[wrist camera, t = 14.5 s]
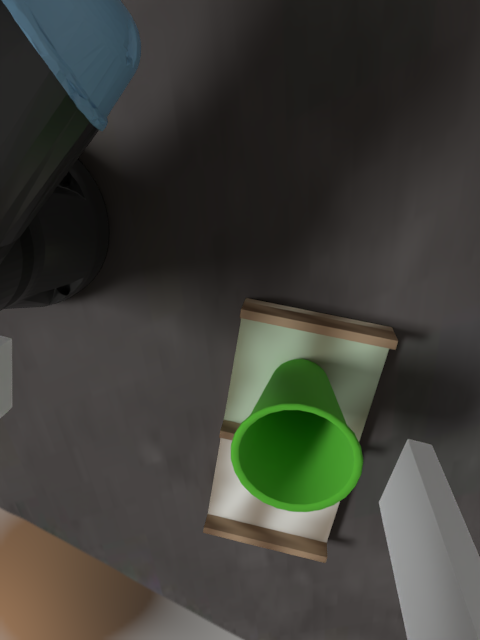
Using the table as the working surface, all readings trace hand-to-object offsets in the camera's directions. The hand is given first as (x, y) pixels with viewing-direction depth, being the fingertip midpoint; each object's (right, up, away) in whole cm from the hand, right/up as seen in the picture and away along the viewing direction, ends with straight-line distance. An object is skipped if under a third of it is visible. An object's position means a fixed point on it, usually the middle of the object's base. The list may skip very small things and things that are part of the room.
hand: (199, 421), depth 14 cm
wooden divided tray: (+6, -8, +29) cm, 31 cm away
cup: (+7, -2, +26) cm, 27 cm away
